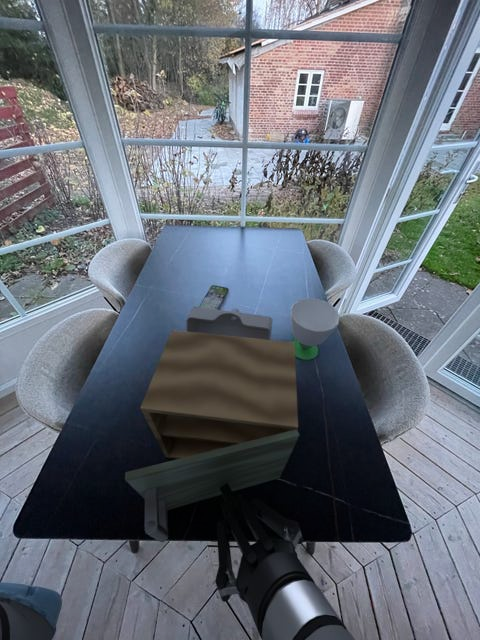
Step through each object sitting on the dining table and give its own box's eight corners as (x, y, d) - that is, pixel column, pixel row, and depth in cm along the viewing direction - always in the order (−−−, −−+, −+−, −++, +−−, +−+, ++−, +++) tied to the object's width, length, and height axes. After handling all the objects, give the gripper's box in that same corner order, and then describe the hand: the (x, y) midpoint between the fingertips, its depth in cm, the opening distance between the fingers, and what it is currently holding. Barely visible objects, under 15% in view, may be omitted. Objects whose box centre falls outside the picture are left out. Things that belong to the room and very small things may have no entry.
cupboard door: (289, 509, 55) (315, 475, 38) (159, 549, 50) (122, 532, 33) (278, 473, 60) (297, 429, 43) (158, 507, 55) (125, 472, 38)
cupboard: (279, 472, 60) (298, 427, 43) (165, 457, 62) (140, 408, 44) (279, 399, 73) (294, 342, 55) (185, 389, 74) (171, 330, 57)
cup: (332, 362, 82) (349, 327, 71) (290, 369, 80) (300, 334, 69) (315, 330, 91) (327, 295, 80) (277, 336, 89) (284, 300, 78)
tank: (270, 329, 91) (274, 302, 83) (265, 367, 80) (270, 340, 71) (200, 319, 94) (197, 292, 85) (186, 354, 83) (181, 327, 74)
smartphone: (229, 288, 106) (217, 312, 95) (229, 290, 106) (217, 314, 96) (211, 284, 107) (197, 308, 96) (211, 287, 108) (198, 310, 97)
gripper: (249, 695, 26) (199, 530, 48) (348, 602, 30) (261, 490, 53) (224, 628, 25) (186, 492, 48) (328, 544, 30) (249, 456, 52)
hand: (225, 491), depth 50 cm, fingers closed
